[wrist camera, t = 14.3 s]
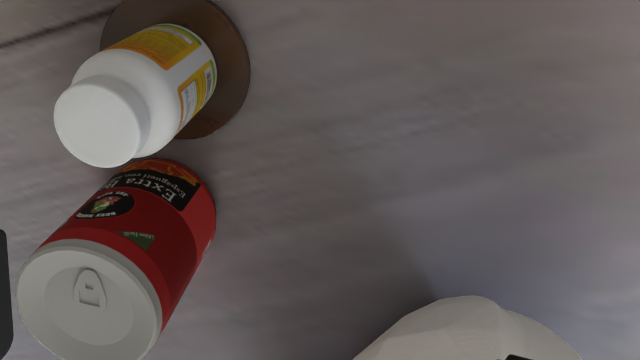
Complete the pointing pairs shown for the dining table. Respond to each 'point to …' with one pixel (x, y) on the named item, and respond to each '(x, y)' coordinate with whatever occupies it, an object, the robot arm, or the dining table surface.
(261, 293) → the dining table surface
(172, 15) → the coaster
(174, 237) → the canned food
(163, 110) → the supplement bottle
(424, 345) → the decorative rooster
